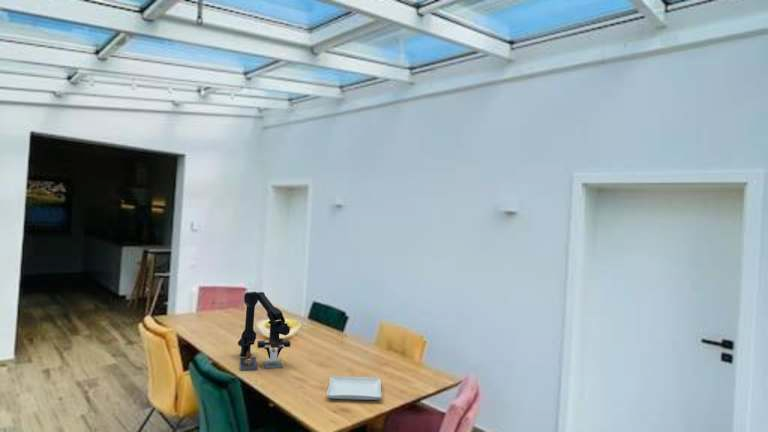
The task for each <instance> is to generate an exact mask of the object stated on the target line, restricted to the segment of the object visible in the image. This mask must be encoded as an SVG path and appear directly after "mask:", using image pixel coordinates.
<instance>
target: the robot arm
mask: <svg viewBox="0 0 768 432" xmlns="http://www.w3.org/2000/svg"><path fill="white" fill-rule="evenodd" d="M243 301H244V304H245V306H246V312H245V325H244V329H243V331H242V333H241V337H240V339H239V340H238V342H237V345H238V347H240V352H239V356H240V357H246V356H247V351H250V357H252V352H251V350H252V349H251V348H252V346H253V345H255V342H256V339H257V332H256V331H255V330H254V325H255V324H254V321H255V310H256V309H255V308H256V305H257V304H258V302H259V303H260V304H261V306H262V307H263V309H264V310H265V311H266V316H267V317H268V320H269V321H267V324H269V325H270V326H269V339H268V340H269V341H268V342H265V340H258V341H257V349H264V350H266V352H267V355H268V359H269V360H270V350H271V349H272V348H274V349H277V352H278V353H277V359H278V358H279V355H280V353H281V351H282V350H283V349H284V348H290V347H291V341H290V340H289V339H284V338H280V335H282V336H287V335H289V334H290V332H291V328H290V326H289V325H288V323H287V322H286V320H285V317H284V315H283V312H282V310H280V309H279V308H278V307H275V306H274V304H273V303H272V302H271V301H270V300H269V299H268V297H267V296H266V295H265V292H263V291H258V292H257V291H249V292H246V293H244V296H243ZM270 348H271V349H270Z"/></svg>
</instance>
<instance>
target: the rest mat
mask: <svg viewBox="0 0 768 432" xmlns="http://www.w3.org/2000/svg"><path fill="white" fill-rule="evenodd" d="M263 366H264V369H266V370H267V369H282V368H284V367H283V363H282V361H281V359H277V361H270V360H263Z"/></svg>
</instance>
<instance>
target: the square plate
mask: <svg viewBox="0 0 768 432" xmlns="http://www.w3.org/2000/svg"><path fill="white" fill-rule="evenodd" d="M381 381H382V379H381V378H380V377H366V376H365V377H363V376H330V378H329V385H328V387H327V391H326V396H327V397H328V398H329V399H335V400H354V401H355V400H357V401H373V400H375V401H376V400H380V399H381V398H382V396H383V394H382V388H381V387H382V386H381Z"/></svg>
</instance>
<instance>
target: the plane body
mask: <svg viewBox="0 0 768 432" xmlns="http://www.w3.org/2000/svg"><path fill="white" fill-rule="evenodd" d="M250 352H251V350H250V351H247V356H245V357H240V358H239V369H240V371H241V372H243V371H257V370H258V362H257V357H256V356H254V357H253V356H250Z"/></svg>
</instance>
